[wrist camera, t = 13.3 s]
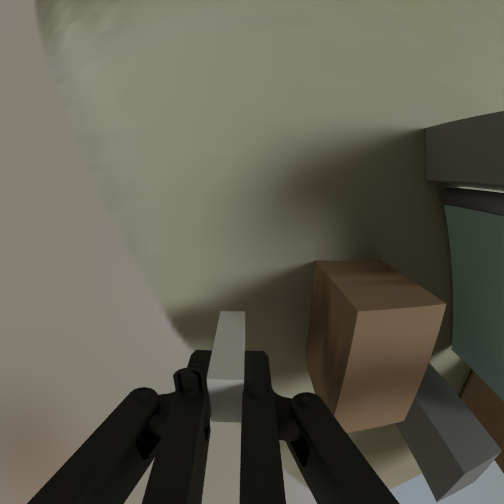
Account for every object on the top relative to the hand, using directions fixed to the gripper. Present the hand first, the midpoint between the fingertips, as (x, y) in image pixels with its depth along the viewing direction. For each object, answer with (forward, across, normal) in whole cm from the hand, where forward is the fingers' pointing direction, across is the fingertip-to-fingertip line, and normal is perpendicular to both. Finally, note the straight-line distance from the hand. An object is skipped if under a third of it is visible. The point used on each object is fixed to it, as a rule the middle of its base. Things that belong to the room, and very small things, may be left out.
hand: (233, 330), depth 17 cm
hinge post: (+2, +16, +12) cm, 20 cm away
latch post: (+2, +16, -8) cm, 18 cm away
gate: (+2, +18, +3) cm, 18 cm away
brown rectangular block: (+3, +8, 0) cm, 8 cm away
